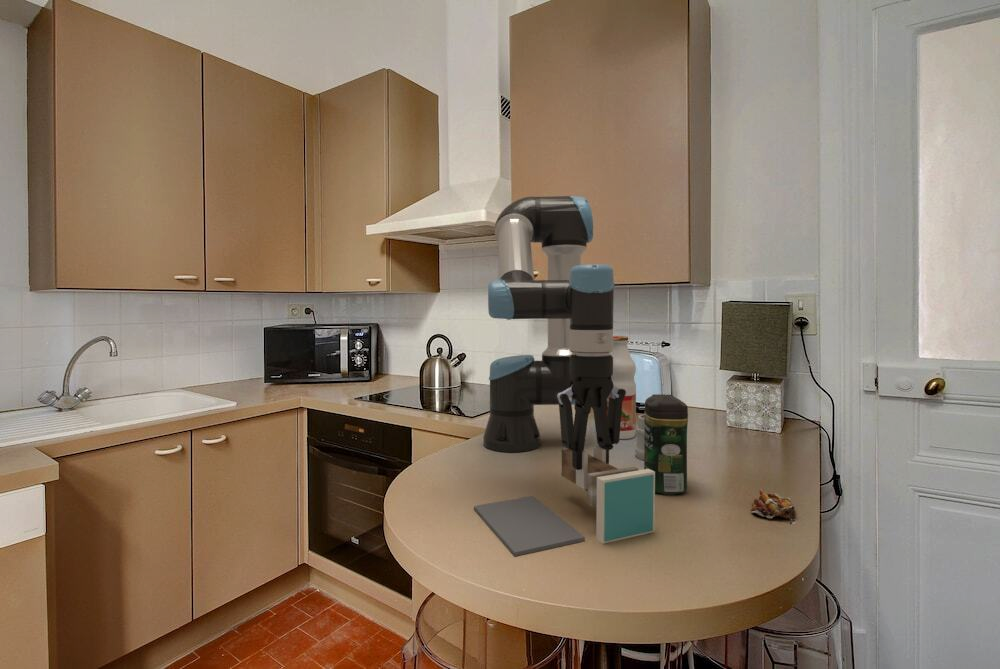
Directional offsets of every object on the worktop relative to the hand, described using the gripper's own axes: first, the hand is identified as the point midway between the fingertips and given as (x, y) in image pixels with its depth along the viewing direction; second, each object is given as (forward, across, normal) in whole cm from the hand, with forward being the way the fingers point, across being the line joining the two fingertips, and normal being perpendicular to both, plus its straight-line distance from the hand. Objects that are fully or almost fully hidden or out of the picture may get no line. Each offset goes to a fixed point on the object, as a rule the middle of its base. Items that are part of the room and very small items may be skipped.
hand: (590, 484), depth 87 cm
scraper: (+1, 0, +1) cm, 1 cm away
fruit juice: (+5, +35, +40) cm, 54 cm away
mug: (+5, +29, +19) cm, 35 cm away
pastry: (+5, +31, -12) cm, 33 cm away
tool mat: (+5, -13, 0) cm, 14 cm away
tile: (+5, 0, -10) cm, 11 cm away
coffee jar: (+5, +20, +4) cm, 21 cm away
